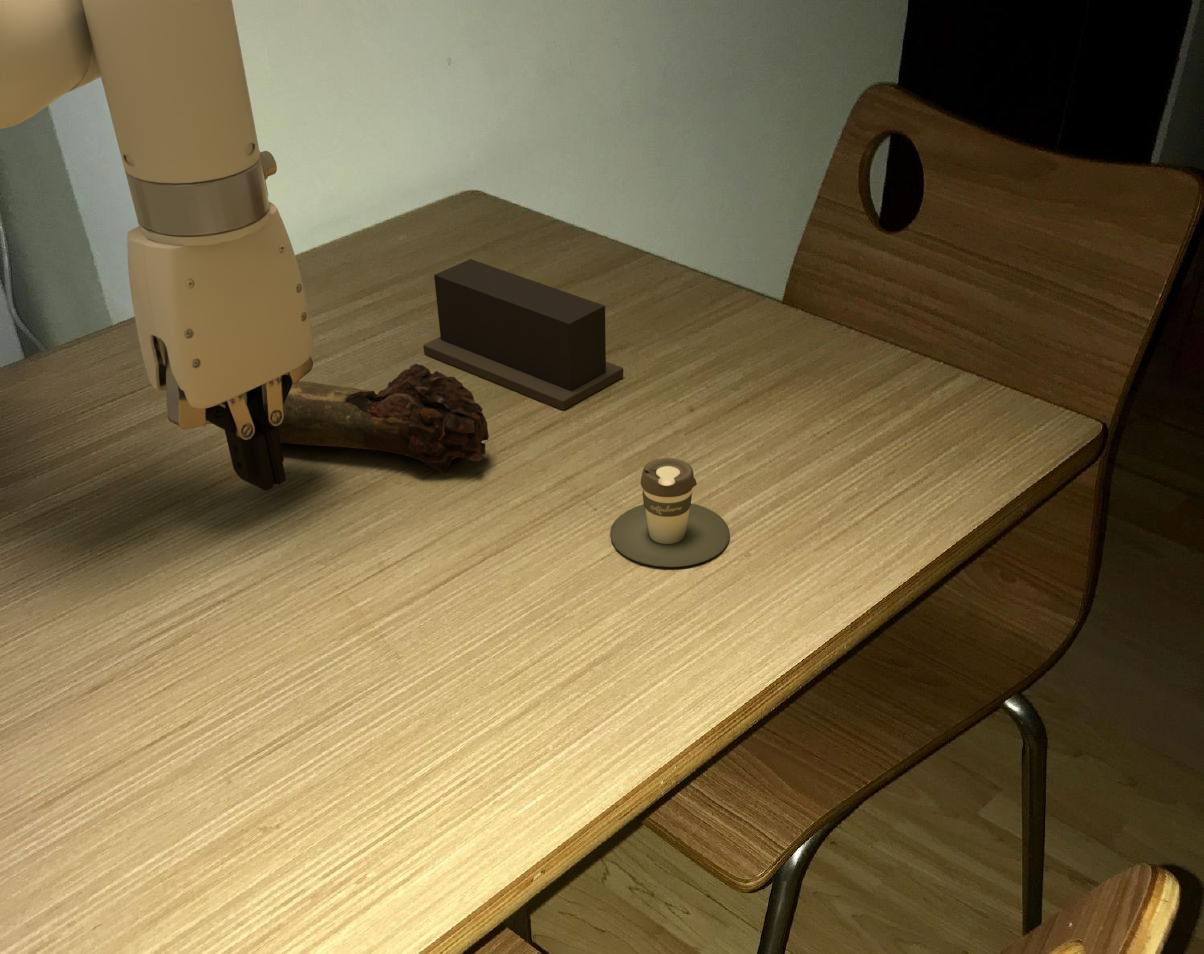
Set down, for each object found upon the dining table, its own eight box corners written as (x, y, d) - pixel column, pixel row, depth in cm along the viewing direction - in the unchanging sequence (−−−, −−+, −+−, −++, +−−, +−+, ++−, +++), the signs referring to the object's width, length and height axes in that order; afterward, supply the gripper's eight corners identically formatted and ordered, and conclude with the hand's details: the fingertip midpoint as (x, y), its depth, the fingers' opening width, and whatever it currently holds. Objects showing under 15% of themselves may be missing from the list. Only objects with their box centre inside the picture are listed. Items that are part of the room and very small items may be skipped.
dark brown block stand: (423, 354, 103) (415, 279, 99) (485, 324, 107) (479, 251, 102) (563, 411, 96) (560, 332, 92) (623, 377, 99) (623, 300, 95)
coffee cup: (743, 484, 88) (747, 416, 84) (773, 585, 79) (779, 514, 76) (567, 493, 87) (565, 426, 84) (578, 596, 79) (576, 525, 75)
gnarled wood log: (244, 452, 92) (226, 377, 88) (287, 410, 97) (273, 337, 93) (474, 486, 88) (467, 409, 84) (508, 440, 93) (503, 365, 89)
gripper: (261, 148, 80) (311, 421, 93) (49, 218, 72) (136, 507, 84) (342, 174, 76) (382, 454, 89) (129, 251, 68) (207, 547, 81)
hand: (262, 479), depth 87 cm, fingers closed
